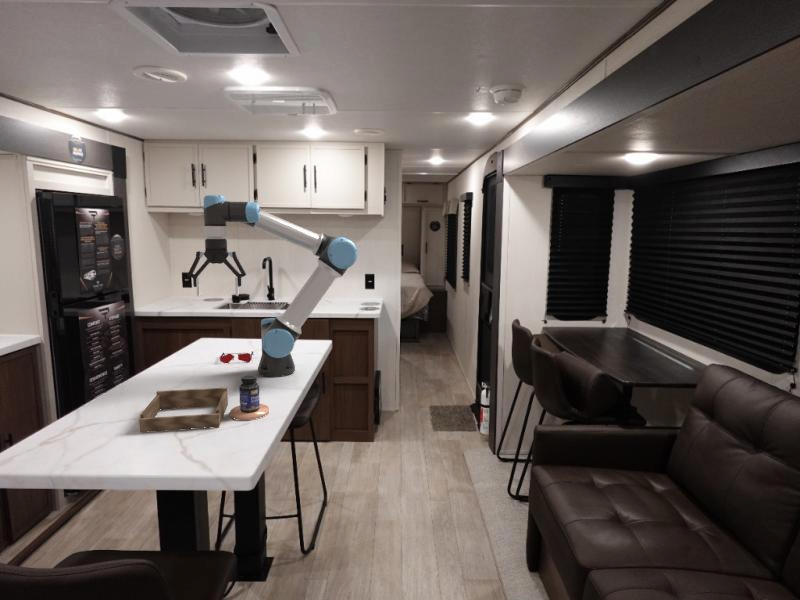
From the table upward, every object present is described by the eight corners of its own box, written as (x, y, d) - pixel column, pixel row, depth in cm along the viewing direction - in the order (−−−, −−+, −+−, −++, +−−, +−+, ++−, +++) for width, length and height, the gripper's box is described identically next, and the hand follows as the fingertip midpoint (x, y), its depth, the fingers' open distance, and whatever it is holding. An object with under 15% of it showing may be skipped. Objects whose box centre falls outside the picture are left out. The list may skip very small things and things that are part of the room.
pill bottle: (253, 414, 154) (252, 380, 153) (236, 412, 156) (235, 379, 154) (263, 407, 160) (262, 374, 159) (246, 405, 162) (245, 373, 160)
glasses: (219, 365, 216) (218, 354, 215) (223, 356, 232) (222, 345, 231) (252, 363, 219) (251, 352, 219) (253, 354, 235) (253, 344, 234)
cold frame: (227, 404, 166) (227, 387, 165) (219, 427, 147) (218, 408, 146) (158, 408, 162) (157, 391, 161) (139, 432, 142) (138, 412, 141)
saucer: (269, 405, 165) (269, 402, 165) (268, 419, 154) (267, 415, 154) (232, 408, 163) (232, 404, 163) (228, 421, 151) (227, 418, 151)
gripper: (252, 238, 185) (253, 293, 188) (181, 237, 180) (184, 294, 183) (250, 238, 178) (252, 296, 181) (177, 238, 172) (180, 297, 175)
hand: (218, 295), depth 182 cm, fingers open, 13 cm apart
